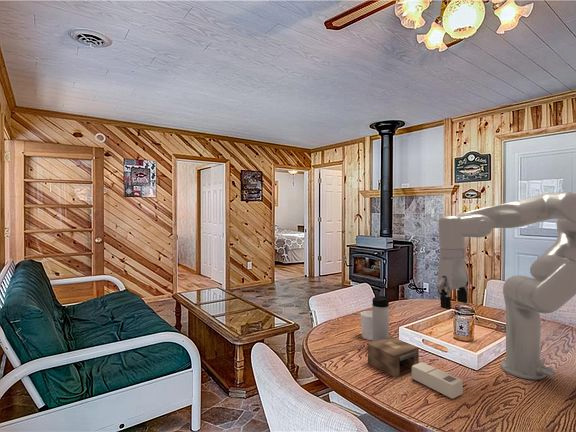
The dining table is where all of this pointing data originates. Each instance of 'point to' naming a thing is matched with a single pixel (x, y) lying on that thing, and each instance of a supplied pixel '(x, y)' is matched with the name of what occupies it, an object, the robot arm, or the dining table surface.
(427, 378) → the cream rectangular block
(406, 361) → the box
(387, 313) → the travel mug
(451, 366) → the dining table surface
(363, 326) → the white cup
